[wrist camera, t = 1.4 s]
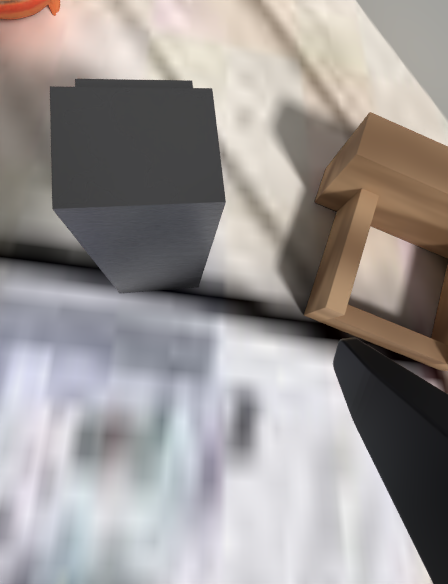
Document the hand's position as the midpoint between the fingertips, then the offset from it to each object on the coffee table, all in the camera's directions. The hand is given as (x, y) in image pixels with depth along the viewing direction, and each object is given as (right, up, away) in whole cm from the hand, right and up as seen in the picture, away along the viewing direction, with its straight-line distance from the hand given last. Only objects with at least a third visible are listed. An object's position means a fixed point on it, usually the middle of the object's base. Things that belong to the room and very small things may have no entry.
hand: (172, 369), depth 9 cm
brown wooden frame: (+13, +3, +16) cm, 21 cm away
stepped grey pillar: (-3, +4, +14) cm, 15 cm away
